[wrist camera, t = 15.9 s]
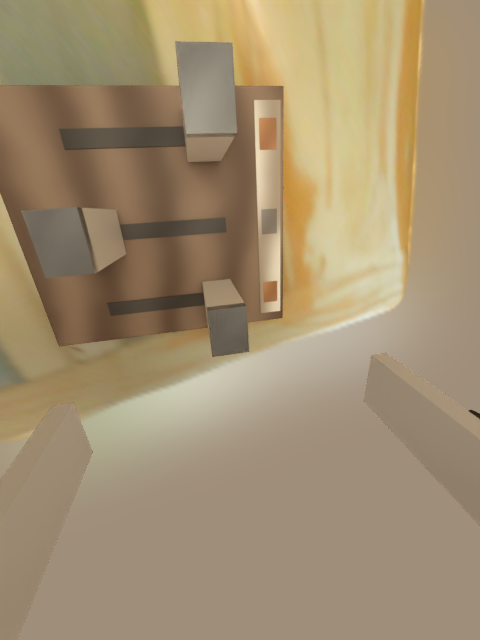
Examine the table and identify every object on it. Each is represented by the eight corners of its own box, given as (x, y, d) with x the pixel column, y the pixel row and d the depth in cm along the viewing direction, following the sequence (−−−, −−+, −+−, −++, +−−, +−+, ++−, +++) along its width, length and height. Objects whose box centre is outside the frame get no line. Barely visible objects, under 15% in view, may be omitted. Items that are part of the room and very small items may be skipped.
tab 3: (206, 316, 29) (212, 356, 21) (202, 281, 27) (207, 310, 19) (232, 313, 29) (248, 351, 21) (229, 278, 28) (246, 306, 20)
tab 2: (187, 162, 23) (186, 133, 15) (181, 106, 22) (175, 41, 13) (220, 160, 24) (237, 132, 15) (216, 106, 22) (232, 42, 14)
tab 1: (93, 256, 25) (45, 278, 16) (81, 211, 23) (21, 210, 15) (126, 254, 25) (95, 273, 17) (116, 209, 23) (76, 207, 15)
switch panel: (69, 336, 30) (58, 347, 27) (-16, 98, 21) (-43, 84, 19) (276, 310, 33) (282, 318, 31) (274, 97, 25) (283, 85, 22)
